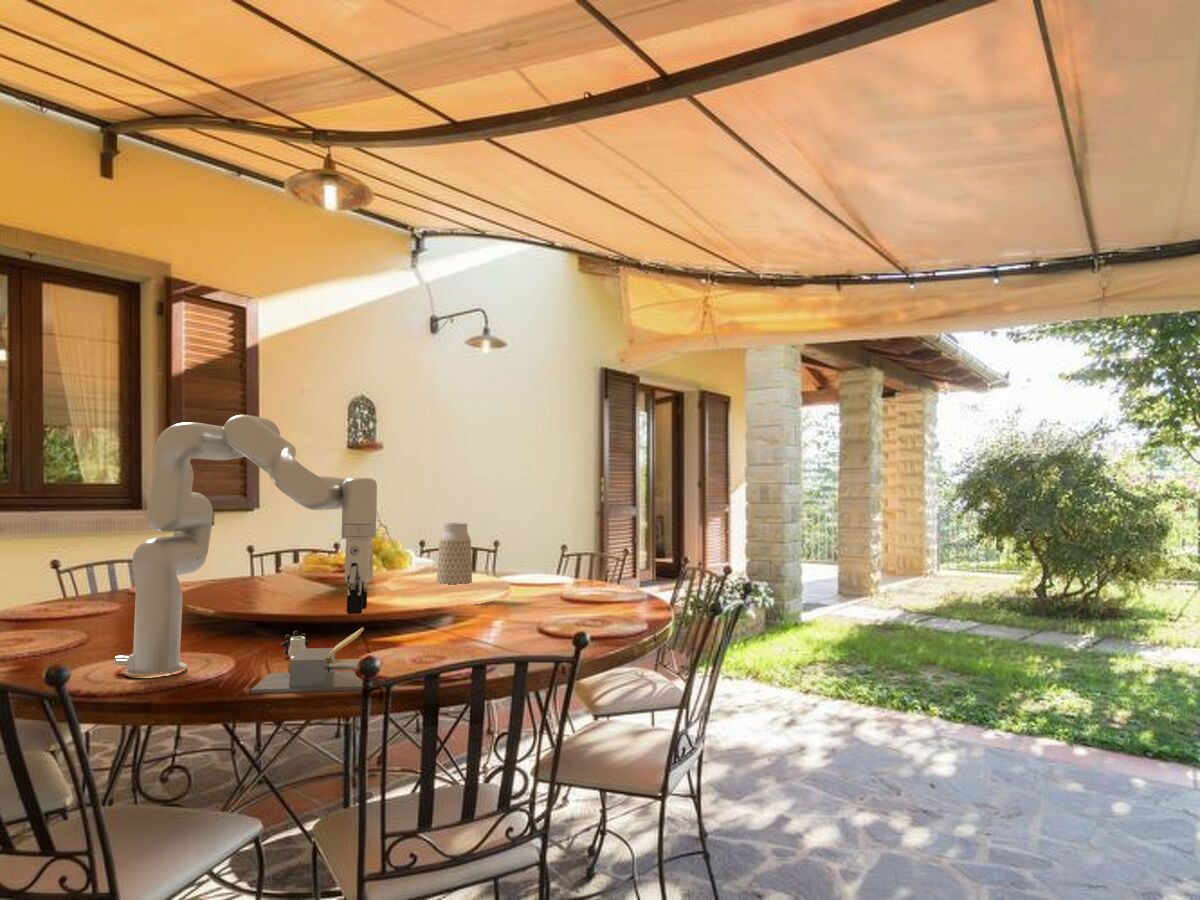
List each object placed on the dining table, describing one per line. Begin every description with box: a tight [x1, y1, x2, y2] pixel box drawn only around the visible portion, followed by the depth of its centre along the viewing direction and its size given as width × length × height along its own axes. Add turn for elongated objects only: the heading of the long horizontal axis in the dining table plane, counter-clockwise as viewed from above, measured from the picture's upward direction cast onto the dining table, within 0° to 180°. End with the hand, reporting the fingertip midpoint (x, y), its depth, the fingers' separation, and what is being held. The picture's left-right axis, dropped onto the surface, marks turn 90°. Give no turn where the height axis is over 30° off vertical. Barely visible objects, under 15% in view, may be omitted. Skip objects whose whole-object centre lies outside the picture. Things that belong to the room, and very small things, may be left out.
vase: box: [435, 522, 473, 585], centre depth 287 cm, size 14×14×31 cm
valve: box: [280, 630, 310, 658], centre depth 185 cm, size 7×7×12 cm
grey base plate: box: [250, 647, 363, 694], centre depth 164 cm, size 23×14×6 cm, turn 99°
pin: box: [287, 655, 359, 676], centre depth 164 cm, size 14×4×4 cm, turn 99°
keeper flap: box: [326, 626, 365, 660], centre depth 165 cm, size 8×10×1 cm
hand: (356, 610), depth 166 cm, fingers open, 6 cm apart
